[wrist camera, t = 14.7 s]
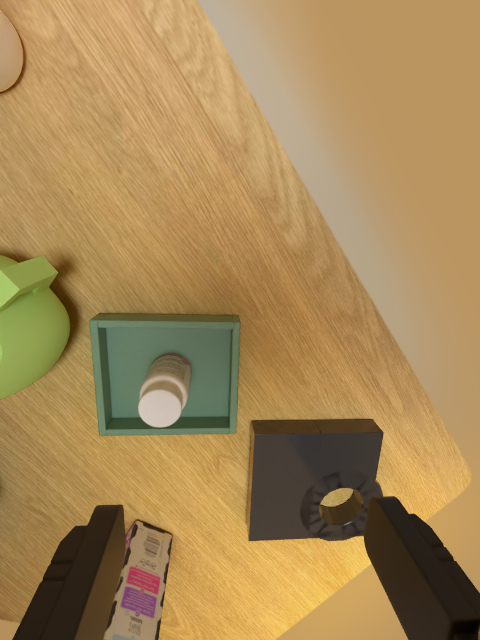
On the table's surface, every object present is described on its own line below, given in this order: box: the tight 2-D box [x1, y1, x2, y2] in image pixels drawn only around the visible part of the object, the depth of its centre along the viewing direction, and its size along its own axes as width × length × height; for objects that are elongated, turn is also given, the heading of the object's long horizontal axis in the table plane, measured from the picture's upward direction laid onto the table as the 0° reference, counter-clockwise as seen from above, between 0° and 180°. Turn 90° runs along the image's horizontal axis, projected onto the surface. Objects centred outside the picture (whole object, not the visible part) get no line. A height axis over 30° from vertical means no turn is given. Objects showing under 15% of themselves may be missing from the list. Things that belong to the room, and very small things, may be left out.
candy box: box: [103, 521, 173, 640], centre depth 38 cm, size 14×6×16 cm, turn 147°
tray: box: [90, 313, 240, 436], centre depth 37 cm, size 16×14×3 cm
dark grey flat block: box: [246, 419, 384, 541], centre depth 43 cm, size 18×17×3 cm
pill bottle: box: [138, 353, 191, 428], centre depth 34 cm, size 5×5×8 cm
